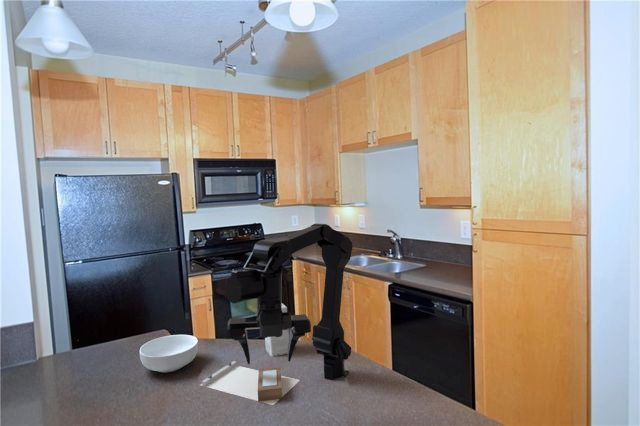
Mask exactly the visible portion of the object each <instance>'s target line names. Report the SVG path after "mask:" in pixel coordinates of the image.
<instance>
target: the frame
mask: <svg viewBox="0 0 640 426" xmlns="http://www.w3.org/2000/svg"><path fill="white" fill-rule="evenodd" d="M258 371H259V375H258V401H257V402H259V401H268V400H277V399H279V400H283V397H282V381H281V376H282V368H281V367H272V368H265V369H264V368H262V369H258Z"/></svg>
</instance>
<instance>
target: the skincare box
mask: <svg viewBox="0 0 640 426" xmlns="http://www.w3.org/2000/svg"><path fill="white" fill-rule="evenodd" d="M282 312H288V307H287V306H286V305H285V304H284V303H282ZM289 331H290V329H288V330H283V332H282V336H280V337H267V338H264V343H265V344H264V345H265V350H266V352H267V354H268V355H269V356H270V357H277V356H281V355H286V354H287V355H288V343H289Z"/></svg>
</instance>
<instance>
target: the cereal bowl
mask: <svg viewBox="0 0 640 426" xmlns="http://www.w3.org/2000/svg"><path fill="white" fill-rule="evenodd" d="M198 351H199V341H198V338H197V337H196V336H194V335H190V334H172V335H165V336H161V337H157V338H154V339H151V340H150V341H147V342H145V343H144V344H143V345H141V346H140V349H139V359H140V362H141V364H142V365H143V366H144V367H145V368H146V369H148V370H150V371H155V372H158V373H159V372H160V373H163V374H164V373H171V372H176V371H177V370H178V371H179V370H180V369H181V368H184V367H185V366H186V365H189V363H191V362H192V361H193V360H194V359H195V358H196V356H197V354H198Z"/></svg>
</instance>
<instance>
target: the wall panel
mask: <svg viewBox="0 0 640 426" xmlns="http://www.w3.org/2000/svg"><path fill="white" fill-rule="evenodd" d="M207 375H208V374H207ZM258 375H259V369H253V368H249V367H244V366H240V365H238V363H237V360H236V361H235V360H233V361H232V362H228V363H227V365H225V366H223V367H222V368H221V369H219V370H217V371H215V372H214V373H212V374H209V375H208V376H207V377H206V378H205V379H203V380H202V381H201V384H200V386H202V387H204V388H205V387H206V388H208V389H213V390H217V391H220V392H223V393H227V394H231V395H234V396H238V397H242V398H246V399H249V400H252V401H255V402H256V401H257V402H258ZM281 381H282V398H283V397H284V396H285V395H286V394H287V393H288V392H289V391H290V390H291V389H293V387H294V386H296V385H297V384H298V383H299V382H300V381H301V380H300V379H297V378H293V377H288V376H284V375H281ZM279 400H280V399H277V400H268V401H259V402H260V403H264V404H267V405H272V406H274V405H276V403H277V402H279Z"/></svg>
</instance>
